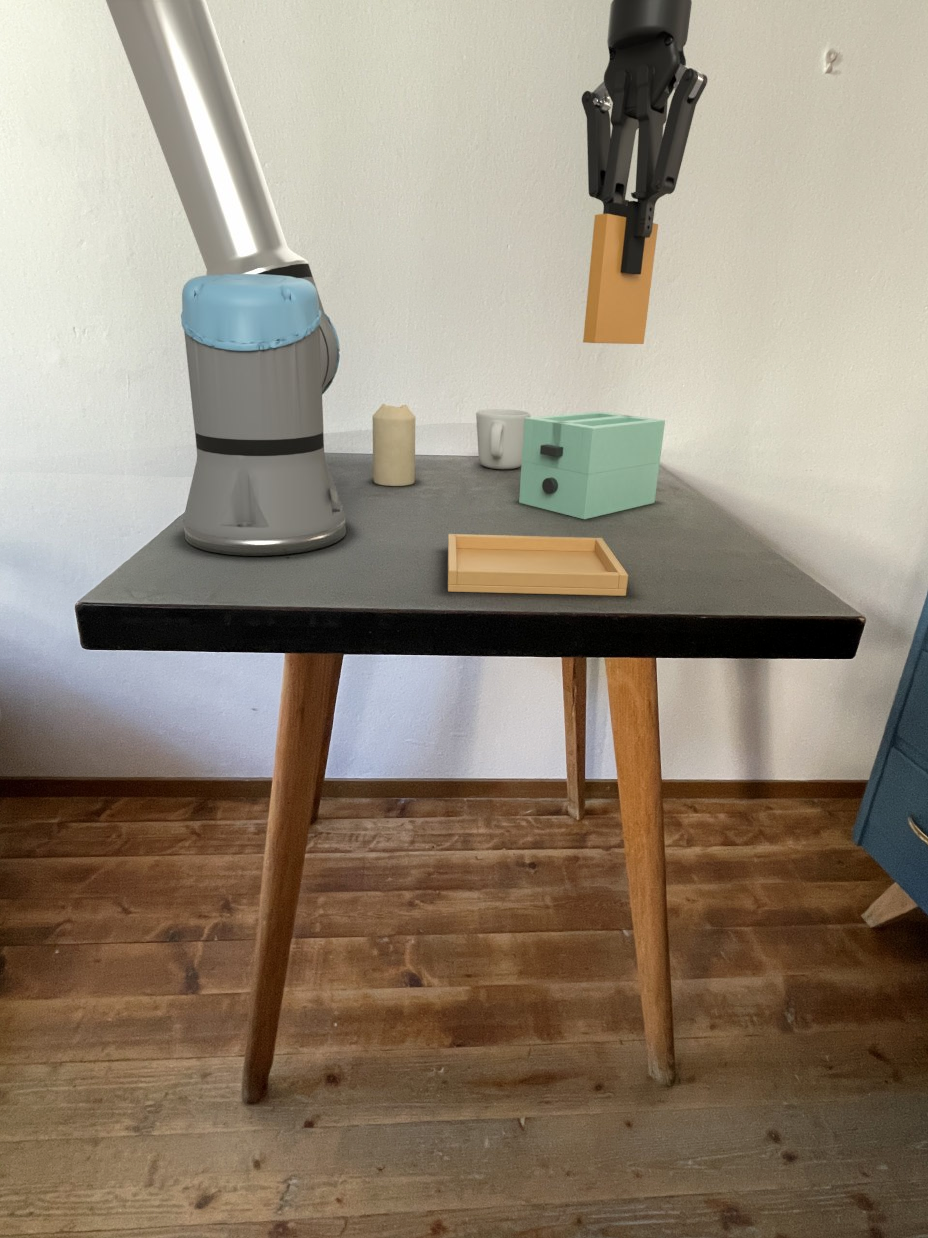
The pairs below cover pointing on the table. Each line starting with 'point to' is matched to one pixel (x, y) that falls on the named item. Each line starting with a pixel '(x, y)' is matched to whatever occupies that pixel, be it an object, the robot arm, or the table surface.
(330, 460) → the table surface
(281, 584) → the table surface
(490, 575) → the tray
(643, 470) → the toaster
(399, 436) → the candle
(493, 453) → the cup
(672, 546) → the table surface
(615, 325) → the orange rectangular panel
